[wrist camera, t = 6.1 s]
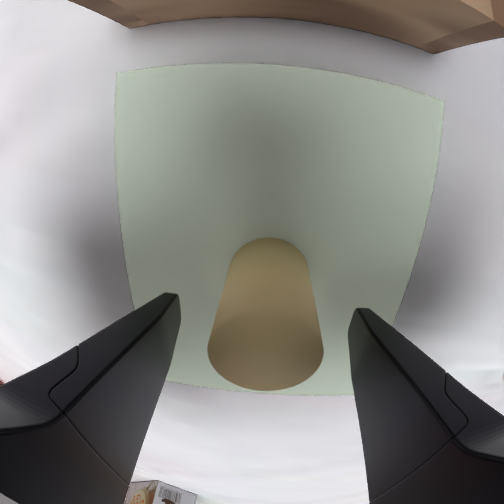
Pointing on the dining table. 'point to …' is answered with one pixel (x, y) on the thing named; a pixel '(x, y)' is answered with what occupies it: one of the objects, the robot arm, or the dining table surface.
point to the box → (334, 16)
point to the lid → (271, 213)
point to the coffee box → (157, 494)
